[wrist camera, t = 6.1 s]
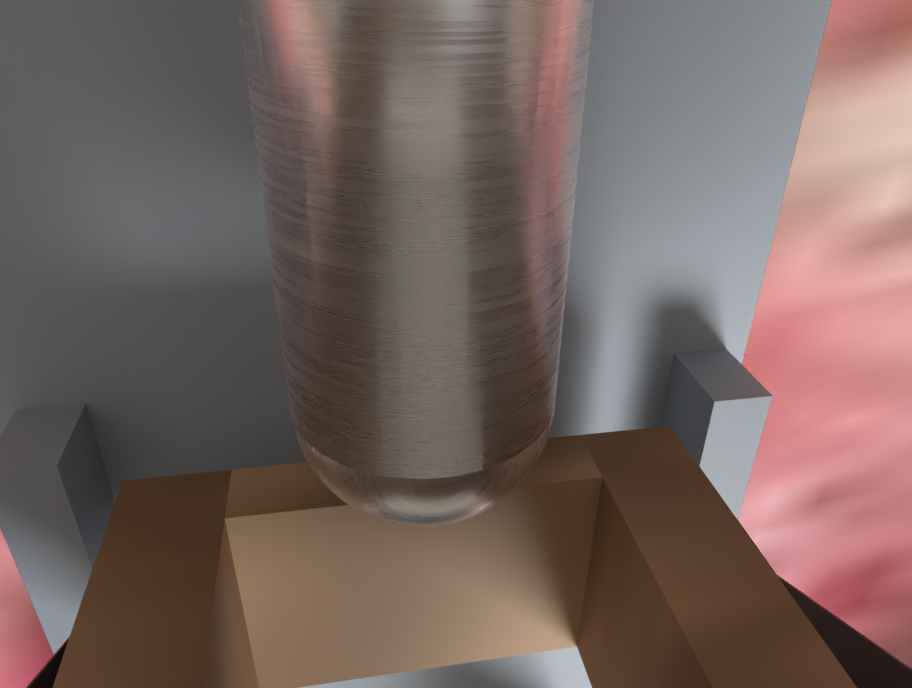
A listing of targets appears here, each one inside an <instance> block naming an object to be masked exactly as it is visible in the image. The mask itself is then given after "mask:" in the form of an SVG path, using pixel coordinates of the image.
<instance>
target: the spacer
mask: <svg viewBox="0 0 912 688" xmlns="http://www.w3.org/2000/svg"><path fill="white" fill-rule="evenodd" d="M571 647H577V648H578V651H579V654H580V656H581V659H582V662H583V664H584V667H585V670H586V673H587V675H588V678H589V681H590V684H591V686H592V688H857V687H856V686H855V684H854V683H853V681H852V680H851V679H850V677H849V676H848V674H847V673H846V671H845V670H844V669H843V667H842V666H841V664H840V663H839V662H838V660H837V659H836V657H835V656H834V655H833V653H832V652H831V650H830V649H829V648H828V646H827V645H826V643H825V642H824V641H823V639H822V638H821V636H820V635H819V634H818V632H817V631H816V629H815V628H814V627H813V625H812V624H811V622H810V621H809V619H808V618H807V617H806V615H805V614H804V612H803V611H802V610H801V608H800V607H799V605H798V604H797V603H796V601H795V600H794V598H793V597H792V596H791V594H790V593H789V591H788V590H787V589H786V587H785V586H784V584H783V583H782V582H781V580H780V579H779V577H778V576H777V575H776V573H775V572H774V570H773V569H772V568H771V566H770V565H769V563H768V562H767V560H766V559H765V558H764V556H763V555H762V553H761V552H760V551H759V549H758V548H757V546H756V545H755V544H754V542H753V541H752V539H751V538H750V537H749V535H748V534H747V532H746V531H745V530H744V528H743V527H742V525H741V524H740V523H739V521H738V520H737V518H736V517H735V516H734V514H733V513H732V511H731V510H730V508H729V507H728V506H727V504H726V503H725V501H724V500H723V499H722V497H721V496H720V494H719V493H718V492H717V490H716V489H715V487H714V486H713V485H712V483H711V482H710V480H709V479H708V478H707V476H706V475H705V473H704V472H703V471H702V469H701V468H700V466H699V465H698V464H697V462H696V461H695V459H694V458H693V456H692V455H691V454H690V452H689V451H688V449H687V448H686V447H685V445H684V444H683V442H682V441H681V440H680V438H679V437H678V435H677V434H676V433H675V431H674V430H673V428H672V427H671V426H664V427H654V428H644V429H634V430H624V431H614V432H604V433H594V434H584V435H574V436H564V437H554V438H547V441H546V444H545V446H544V448H543V450H542V452H541V454H540V456H539V458H538V460H537V461H536V463H535V464H534V466H533V468H532V469H531V471H530V472H529V474H528V475H527V476H526V477H525V479H524V480H523V481H522V482H521V483H520V485H518V486H517V487H516V488H515V489H514V490H513V491H512V492H511V493H510V494H509V495H508V496H506V497H505V498H504V499H502V500H501V501H500V502H498V503H497V504H496V505H494V506H493V507H491V508H489V509H488V510H486V511H484V512H482V513H480V514H478V515H476V516H474V517H471V518H468V519H466V520H463V521H460V522H456V523H452V524H447V525H441V526H433V527H411V526H404V525H397V524H392V523H388V522H384V521H381V520H378V519H375V518H373V517H370V516H368V515H366V514H364V513H362V512H360V511H358V510H356V509H355V508H353V507H351V506H350V505H348V504H347V503H345V502H344V501H342V500H341V499H339V498H338V497H337V496H336V495H335V494H334V493H333V492H332V491H331V490H330V489H329V488H328V487H327V486H326V485H325V484H324V483H323V482H322V481H321V480H320V479H319V477H318V476H317V475H316V474H315V473H314V471H313V469H312V468H311V466H310V464H309V463H308V462H303V463H293V464H283V465H273V466H263V467H253V468H243V469H233V470H223V471H213V472H203V473H193V474H183V475H173V476H163V477H153V478H143V479H133V480H123V481H122V482H121V485H120V488H119V491H118V494H117V497H116V500H115V503H114V506H113V509H112V512H111V515H110V518H109V521H108V524H107V527H106V530H105V533H104V536H103V539H102V542H101V545H100V548H99V551H98V554H97V557H96V560H95V563H94V566H93V569H92V572H91V575H90V578H89V580H88V583H87V586H86V589H85V592H84V595H83V598H82V601H81V604H80V607H79V610H78V613H77V616H76V619H75V622H74V625H73V628H72V631H71V634H70V637H69V640H68V643H67V646H66V649H65V652H64V655H63V658H62V661H61V664H60V667H59V670H58V673H57V676H56V679H55V682H54V685H53V688H299V687H306V686H313V685H319V684H326V683H333V682H340V681H347V680H354V679H360V678H367V677H374V676H381V675H388V674H394V673H401V672H408V671H415V670H422V669H428V668H435V667H442V666H449V665H456V664H462V663H469V662H476V661H483V660H490V659H496V658H503V657H510V656H517V655H524V654H531V653H537V652H544V651H551V650H558V649H565V648H571Z"/></svg>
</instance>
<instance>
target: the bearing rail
mask: <svg viewBox="0 0 912 688" xmlns="http://www.w3.org/2000/svg"><path fill="white" fill-rule="evenodd" d="M831 2H832V0H594V8H593V18H592V28H591V39H590V49H589V59H588V69H587V80H586V90H585V100H584V111H583V121H582V131H581V141H580V152H579V162H578V172H577V183H576V193H575V203H574V213H573V224H572V234H571V244H570V255H569V265H568V275H567V285H566V296H565V306H564V316H563V327H562V337H561V347H560V357H559V368H558V378H557V388H556V399H555V409H554V415H553V421H552V425H551V428H550V431H549V435H548V438H554V437H564V436H574V435H584V434H594V433H604V432H614V431H624V430H634V429H644V428H654V427H664V426H671V427H672V428H673V430H674V431H675V433H676V434H677V435H678V437H679V438H680V440H681V441H682V442H683V444H684V445H685V447H686V448H687V449H688V451H689V452H690V454H691V455H692V456H693V458H694V459H695V461H696V462H697V464H698V465H699V466H700V468H701V469H702V471H703V472H704V473H705V475H706V476H707V478H708V479H709V480H710V482H711V483H712V485H713V486H714V487H715V489H716V490H717V492H718V493H719V494H720V496H721V497H722V499H723V500H724V501H725V503H726V504H727V506H728V507H729V508H730V510H731V511H732V513H733V514H734V516H735V517H736V518H737V520H738V517H739V513H740V510H741V506H742V503H743V499H744V495H745V492H746V488H747V485H748V481H749V478H750V474H751V470H752V467H753V463H754V460H755V456H756V453H757V449H758V446H759V442H760V438H761V435H762V431H763V428H764V424H765V421H766V417H767V413H768V410H769V406H770V403H771V399H772V395H771V394H770V393H769V392H768V391H767V390H766V389H765V388H764V387H763V386H762V385H761V384H760V383H759V382H758V381H757V380H756V379H755V378H754V377H753V376H752V375H751V374H750V373H749V372H748V370H747V369H746V368H745V367H744V366H743V365H742V361H743V357H744V353H745V349H746V345H747V341H748V337H749V333H750V329H751V325H752V321H753V317H754V313H755V309H756V305H757V300H758V296H759V292H760V288H761V284H762V280H763V276H764V272H765V268H766V264H767V260H768V256H769V252H770V248H771V244H772V240H773V236H774V232H775V228H776V224H777V220H778V216H779V212H780V208H781V204H782V200H783V196H784V192H785V187H786V183H787V179H788V175H789V171H790V167H791V163H792V159H793V155H794V151H795V147H796V143H797V139H798V135H799V131H800V127H801V123H802V119H803V115H804V111H805V107H806V103H807V99H808V95H809V91H810V87H811V83H812V78H813V74H814V70H815V66H816V62H817V58H818V54H819V50H820V46H821V42H822V38H823V34H824V30H825V26H826V22H827V18H828V14H829V10H830V6H831ZM303 462H308V461H307V459H306V458H305V456H304V454H303V453H302V451H301V448H300V445H299V443H298V440H297V438H296V435H295V432H294V428H293V424H292V419H291V414H290V407H289V399H288V391H287V384H286V376H285V368H284V360H283V353H282V345H281V337H280V329H279V322H278V314H277V306H276V298H275V291H274V283H273V275H272V267H271V260H270V252H269V244H268V236H267V229H266V221H265V213H264V205H263V198H262V190H261V182H260V174H259V167H258V159H257V151H256V143H255V136H254V128H253V120H252V112H251V105H250V97H249V89H248V81H247V74H246V66H245V58H244V50H243V43H242V35H241V27H240V19H239V12H238V4H237V0H0V527H1V530H2V532H3V535H4V537H5V539H6V542H7V544H8V546H9V549H10V551H11V554H12V556H13V558H14V561H15V563H16V566H17V568H18V570H19V573H20V575H21V578H22V580H23V582H24V585H25V587H26V589H27V592H28V594H29V597H30V599H31V601H32V604H33V606H34V609H35V611H36V613H37V616H38V618H39V621H40V623H41V625H42V628H43V630H44V633H45V635H46V637H47V640H48V642H49V644H50V647H51V649H52V652H53V654H55V653H56V652H57V650H58V649H59V648H60V647H61V646H62V645H63V643H64V642H65V641H66V640H67V639H68V637H69V636H70V634H71V631H72V628H73V625H74V622H75V619H76V616H77V613H78V610H79V607H80V604H81V601H82V598H83V595H84V592H85V589H86V586H87V583H88V580H89V578H90V575H91V572H92V569H93V566H94V563H95V560H96V557H97V554H98V551H99V548H100V545H101V542H102V539H103V536H104V533H105V530H106V527H107V524H108V521H109V518H110V515H111V512H112V509H113V506H114V503H115V500H116V497H117V494H118V491H119V488H120V485H121V482H122V481H123V480H133V479H143V478H153V477H163V476H173V475H183V474H193V473H203V472H213V471H223V470H233V469H243V468H253V467H263V466H273V465H283V464H293V463H303ZM299 688H592V686H591V684H590V681H589V678H588V675H587V673H586V670H585V667H584V664H583V662H582V659H581V656H580V654H579V651H578V648H577V647H571V648H565V649H558V650H551V651H544V652H537V653H531V654H524V655H517V656H510V657H503V658H496V659H490V660H483V661H476V662H469V663H462V664H456V665H449V666H442V667H435V668H428V669H422V670H415V671H408V672H401V673H394V674H388V675H381V676H374V677H367V678H360V679H354V680H347V681H340V682H333V683H326V684H319V685H313V686H306V687H299Z"/></svg>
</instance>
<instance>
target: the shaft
mask: <svg viewBox="0 0 912 688" xmlns="http://www.w3.org/2000/svg"><path fill="white" fill-rule="evenodd" d="M237 4H238V12H239V19H240V27H241V35H242V43H243V50H244V58H245V66H246V74H247V81H248V89H249V97H250V105H251V112H252V120H253V128H254V136H255V143H256V151H257V159H258V167H259V174H260V182H261V190H262V198H263V205H264V213H265V221H266V229H267V236H268V244H269V252H270V260H271V267H272V275H273V283H274V291H275V298H276V306H277V314H278V322H279V329H280V337H281V345H282V353H283V360H284V368H285V376H286V384H287V391H288V399H289V407H290V414H291V419H292V424H293V428H294V432H295V435H296V438H297V440H298V443H299V445H300V448H301V451H302V453H303V454H304V456H305V458H306V459H307V461H308V463H309V464H310V466H311V468H312V469H313V471H314V473H315V474H316V475H317V476H318V477H319V479H320V480H321V481H322V482H323V483H324V484H325V485H326V486H327V487H328V488H329V489H330V490H331V491H332V492H333V493H334V494H335V495H336V496H337V497H338V498H339V499H341V500H342V501H344V502H345V503H347V504H348V505H350V506H351V507H353V508H355V509H356V510H358V511H360V512H362V513H364V514H366V515H368V516H370V517H373V518H375V519H378V520H381V521H384V522H388V523H392V524H397V525H404V526H411V527H433V526H441V525H447V524H452V523H456V522H460V521H463V520H466V519H468V518H471V517H474V516H476V515H478V514H480V513H482V512H484V511H486V510H488V509H489V508H491V507H493V506H494V505H496V504H497V503H498V502H500V501H501V500H502V499H504V498H505V497H506V496H508V495H509V494H510V493H511V492H512V491H513V490H514V489H515V488H516V487H517V486H518V485H520V483H521V482H522V481H523V480H524V479H525V477H526V476H527V475H528V474H529V472H530V471H531V469H532V468H533V466H534V464H535V463H536V461H537V460H538V458H539V456H540V454H541V452H542V450H543V448H544V446H545V444H546V441H547V438H548V435H549V431H550V428H551V425H552V421H553V415H554V409H555V399H556V388H557V378H558V368H559V357H560V347H561V337H562V327H563V316H564V306H565V296H566V285H567V275H568V265H569V255H570V244H571V234H572V224H573V213H574V203H575V193H576V183H577V172H578V162H579V152H580V141H581V131H582V121H583V111H584V100H585V90H586V80H587V69H588V59H589V49H590V39H591V28H592V18H593V8H594V0H237Z"/></svg>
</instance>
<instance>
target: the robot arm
mask: <svg viewBox="0 0 912 688" xmlns="http://www.w3.org/2000/svg"><path fill="white" fill-rule="evenodd" d="M776 575H777V574H776ZM777 576H778V575H777ZM778 577H779V576H778ZM779 579H780V580H781V582H782V583H783V584H784V586H785V587H786V589H787V590H788V591H789V593H790V594H791V596H792V597H793V598H794V600H795V601H796V603H797V604H798V605H799V607H800V608H801V610H802V611H803V612H804V614H805V615H806V617H807V618H808V619H809V621H810V622H811V624H812V625H813V627H814V628H815V629H816V631H817V632H818V634H819V635H820V636H821V638H822V639H823V641H824V642H825V643H826V645H827V646H828V648H829V649H830V650H831V652H832V653H833V655H834V656H835V657H836V659H837V660H838V662H839V663H840V664H841V666H842V667H843V669H844V670H845V671H846V673H847V674H848V676H849V677H850V679H851V680H852V681H853V683H854V684H855V686H856V687H857V688H912V669H911V668H910V667H908V666H907V665H905V664H904V663H903V662H901V661H900V660H898V659H897V658H895V657H894V656H892V655H891V654H890V653H888V652H887V651H885V650H884V649H882V648H881V647H880V646H878V645H877V644H875V643H874V642H872V641H871V640H870V639H868V638H867V637H865V636H864V635H862V634H861V633H860V632H858V631H857V630H855V629H854V628H852V627H851V626H850V625H848V624H847V623H845V622H844V621H842V620H841V619H840V618H838V617H837V616H835V615H834V614H832V613H831V612H829V611H828V610H827V609H825V608H824V607H822V606H821V605H819V604H818V603H817V602H815V601H814V600H812V599H811V598H809V597H808V596H807V595H805V594H804V593H802V592H801V591H799V590H798V589H797V588H795V587H794V586H792V585H791V584H789V583H788V582H787V581H785V580H784V579H782V578H781V577H779ZM69 637H70V636H69ZM69 637H68V639H67V640H66V641H65V642H64V643H63V645H62V646H61V647H60V648H59V649H58V650H57V652H56V653H55V654H54V655H53V656H52V657H51V659H50V660H49V661H48V662H47V663H46V665H45V666H44V667H43V668H42V669H41V670H40V672H39V673H38V674H37V675H36V676H35V677H34V679H33V680H32V681H31V682H30V683H29V685H28V686H27V687H26V688H53V685H54V682H55V679H56V676H57V673H58V670H59V667H60V664H61V661H62V658H63V655H64V652H65V649H66V646H67V643H68V640H69Z"/></svg>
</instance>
